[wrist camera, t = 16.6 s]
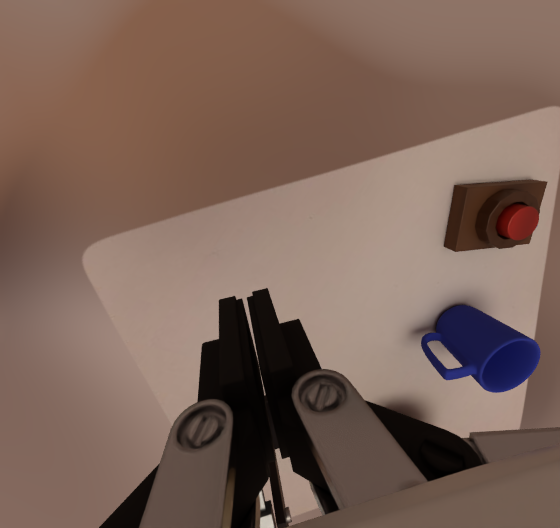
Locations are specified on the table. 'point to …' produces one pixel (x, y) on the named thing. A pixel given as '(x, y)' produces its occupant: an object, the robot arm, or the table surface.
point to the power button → (517, 221)
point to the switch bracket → (277, 483)
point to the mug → (483, 349)
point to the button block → (487, 212)
